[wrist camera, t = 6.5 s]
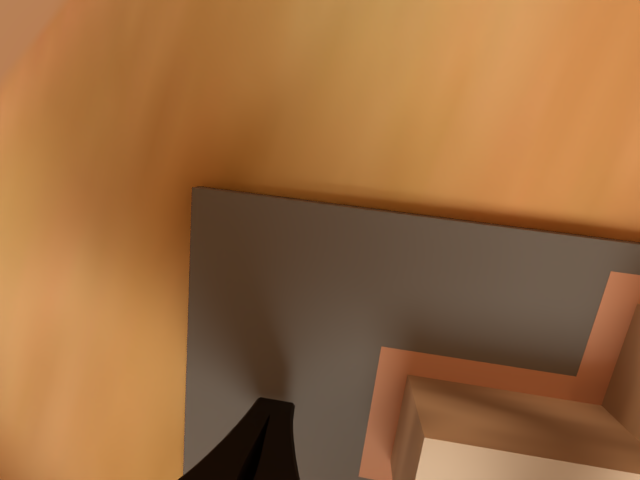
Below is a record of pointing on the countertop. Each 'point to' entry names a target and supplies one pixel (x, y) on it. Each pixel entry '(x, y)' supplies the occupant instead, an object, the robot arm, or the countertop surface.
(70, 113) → the countertop surface
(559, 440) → the t block
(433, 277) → the mat
